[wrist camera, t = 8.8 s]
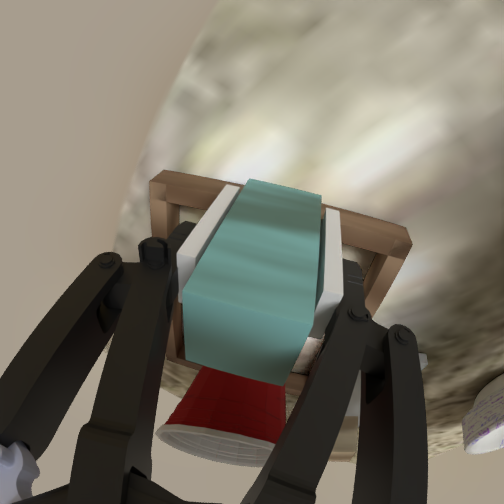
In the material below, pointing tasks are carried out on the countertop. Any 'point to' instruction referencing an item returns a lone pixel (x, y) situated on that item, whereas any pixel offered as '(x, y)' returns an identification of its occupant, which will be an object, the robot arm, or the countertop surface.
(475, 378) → the countertop surface
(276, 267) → the frame
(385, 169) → the countertop surface
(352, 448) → the beech cube
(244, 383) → the plastic cup
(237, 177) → the countertop surface
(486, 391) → the paper bowls
